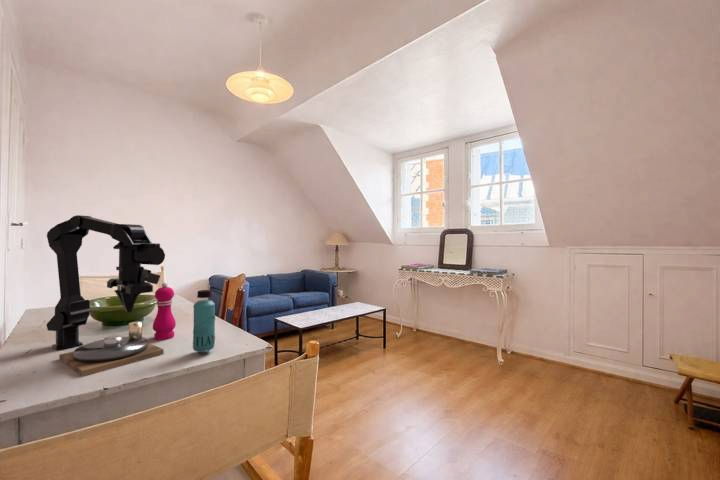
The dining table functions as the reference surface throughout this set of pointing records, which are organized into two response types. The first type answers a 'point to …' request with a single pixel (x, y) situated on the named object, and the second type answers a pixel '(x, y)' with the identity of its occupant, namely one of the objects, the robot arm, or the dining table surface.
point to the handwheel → (113, 346)
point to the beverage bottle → (204, 322)
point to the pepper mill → (164, 314)
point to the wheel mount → (95, 367)
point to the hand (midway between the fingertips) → (128, 312)
